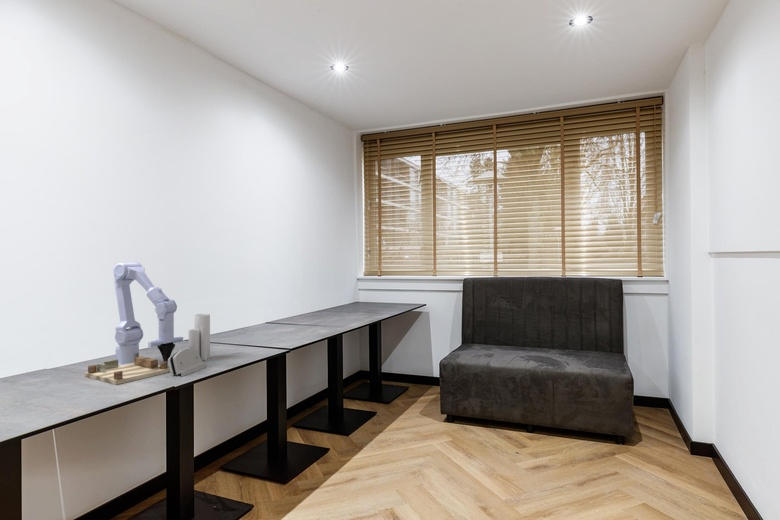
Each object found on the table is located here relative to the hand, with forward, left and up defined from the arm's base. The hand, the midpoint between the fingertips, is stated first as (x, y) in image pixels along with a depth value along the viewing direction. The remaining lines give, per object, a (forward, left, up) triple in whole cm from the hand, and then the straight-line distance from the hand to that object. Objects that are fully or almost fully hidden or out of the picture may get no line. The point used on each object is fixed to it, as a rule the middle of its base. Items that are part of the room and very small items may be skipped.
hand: (166, 361), depth 190 cm
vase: (-1, +17, -3) cm, 17 cm away
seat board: (-3, -14, -3) cm, 14 cm away
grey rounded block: (+12, +1, -3) cm, 13 cm away
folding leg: (-3, -7, -1) cm, 7 cm away
